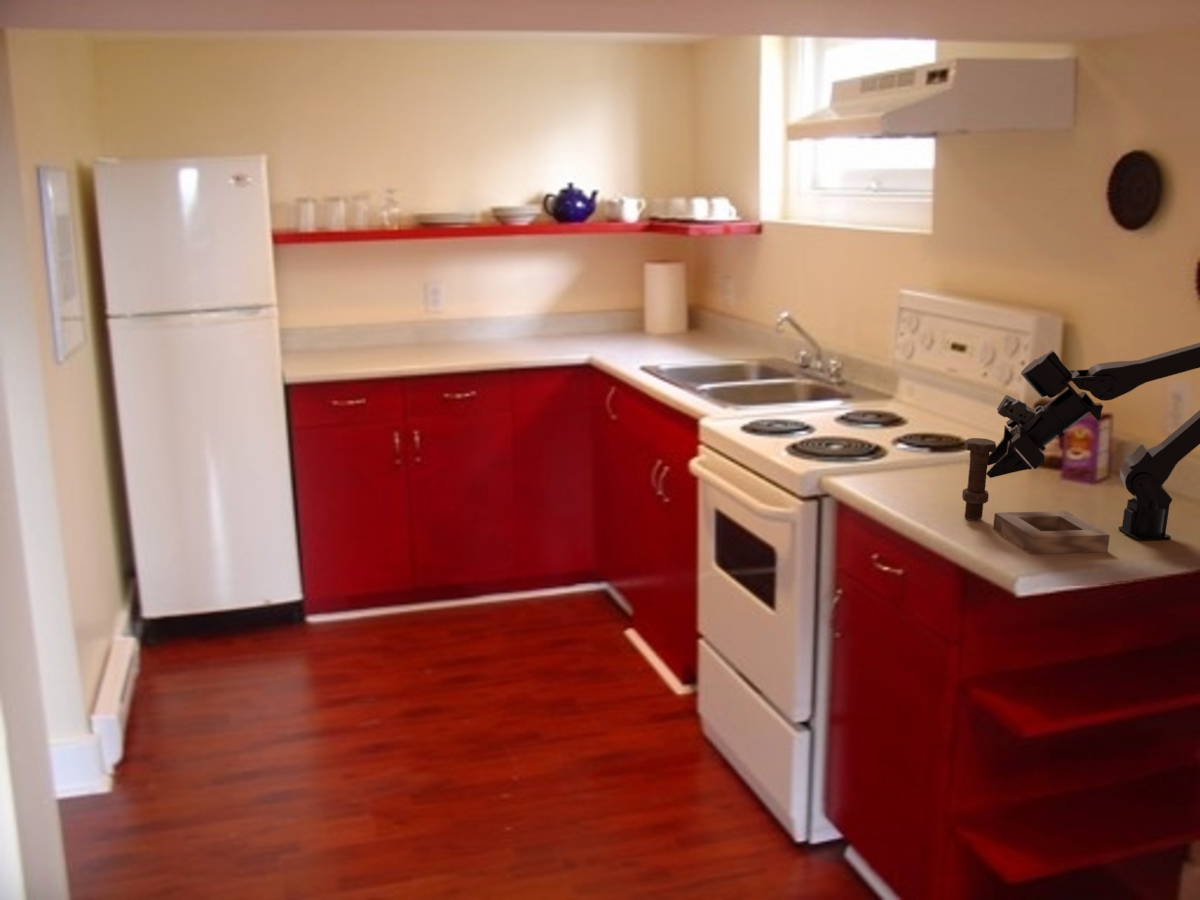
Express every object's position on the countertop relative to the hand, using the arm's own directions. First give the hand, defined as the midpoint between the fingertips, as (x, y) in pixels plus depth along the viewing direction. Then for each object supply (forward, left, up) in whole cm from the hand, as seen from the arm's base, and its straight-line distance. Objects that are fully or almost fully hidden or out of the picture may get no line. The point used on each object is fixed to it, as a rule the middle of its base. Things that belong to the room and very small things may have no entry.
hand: (987, 469), depth 213 cm
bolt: (+1, -1, -10) cm, 10 cm away
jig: (-7, +12, -10) cm, 17 cm away
